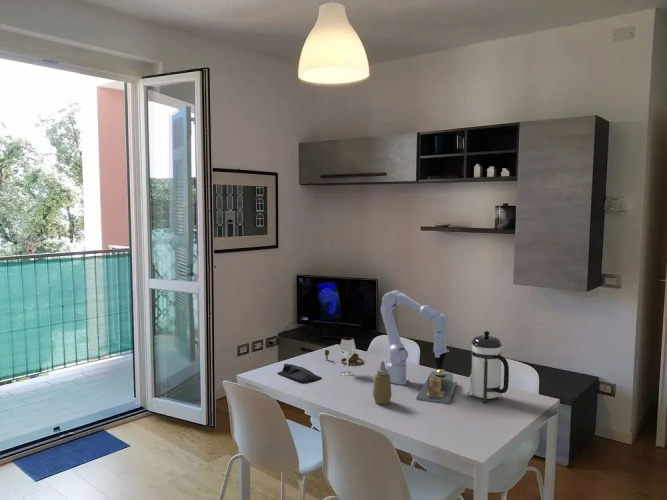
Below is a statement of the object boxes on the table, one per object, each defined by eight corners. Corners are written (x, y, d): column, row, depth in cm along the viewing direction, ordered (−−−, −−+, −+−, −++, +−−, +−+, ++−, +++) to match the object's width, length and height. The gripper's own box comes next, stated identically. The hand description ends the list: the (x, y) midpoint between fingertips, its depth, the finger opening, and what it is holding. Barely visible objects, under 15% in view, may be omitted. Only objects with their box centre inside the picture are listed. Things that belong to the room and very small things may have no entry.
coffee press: (465, 402, 216) (467, 333, 214) (469, 390, 231) (471, 326, 229) (507, 407, 210) (509, 337, 208) (509, 395, 225) (511, 329, 223)
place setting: (348, 369, 263) (348, 358, 262) (322, 361, 277) (322, 350, 276) (370, 362, 275) (370, 352, 274) (344, 355, 289) (344, 345, 289)
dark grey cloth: (298, 385, 237) (298, 376, 236) (275, 373, 255) (275, 364, 254) (324, 379, 246) (324, 370, 245) (300, 368, 264) (300, 359, 263)
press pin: (436, 377, 235) (436, 370, 234) (437, 375, 238) (437, 368, 238) (443, 378, 233) (444, 371, 233) (445, 376, 237) (445, 369, 236)
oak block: (428, 394, 222) (429, 380, 221) (430, 391, 226) (431, 376, 225) (439, 395, 220) (439, 381, 219) (440, 392, 224) (441, 378, 224)
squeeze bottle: (379, 407, 210) (379, 365, 208) (369, 400, 217) (369, 360, 216) (395, 404, 214) (395, 362, 212) (384, 397, 221) (385, 357, 219)
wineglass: (358, 372, 255) (358, 338, 254) (350, 377, 248) (350, 341, 247) (344, 370, 259) (344, 336, 258) (336, 374, 253) (336, 339, 251)
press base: (416, 399, 219) (416, 387, 218) (427, 381, 243) (427, 370, 243) (448, 404, 214) (449, 392, 213) (457, 384, 238) (457, 374, 238)
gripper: (446, 344, 223) (445, 374, 224) (451, 337, 236) (450, 365, 237) (430, 343, 225) (429, 372, 226) (436, 335, 239) (435, 363, 240)
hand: (439, 368), depth 232 cm, fingers closed
